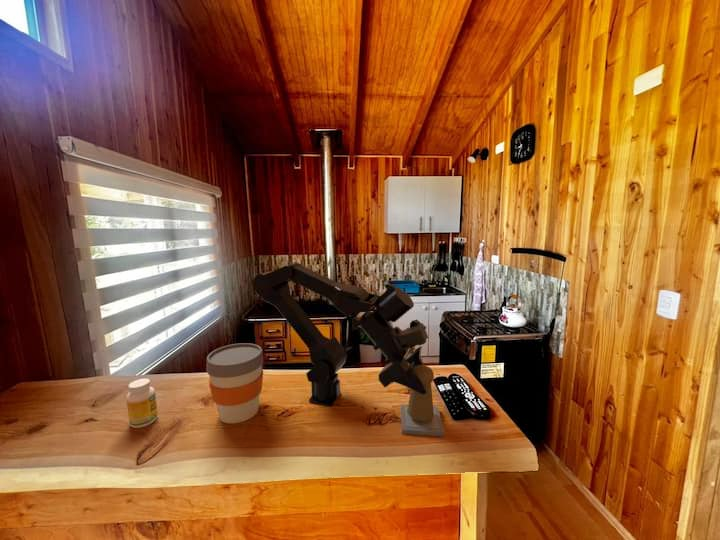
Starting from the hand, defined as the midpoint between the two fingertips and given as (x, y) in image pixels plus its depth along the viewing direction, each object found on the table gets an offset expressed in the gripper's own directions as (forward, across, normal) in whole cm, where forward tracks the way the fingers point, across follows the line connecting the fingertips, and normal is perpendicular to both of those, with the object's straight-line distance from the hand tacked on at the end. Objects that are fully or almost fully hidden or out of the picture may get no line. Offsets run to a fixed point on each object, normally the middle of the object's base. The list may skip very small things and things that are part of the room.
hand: (427, 387), depth 67 cm
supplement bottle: (-36, -24, +50) cm, 66 cm away
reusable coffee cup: (-24, -13, +37) cm, 46 cm away
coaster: (+5, 0, +7) cm, 9 cm away
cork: (+4, 0, +6) cm, 7 cm away
